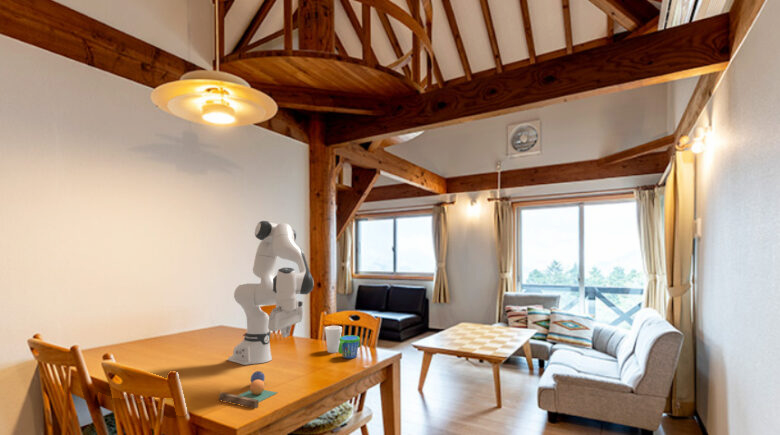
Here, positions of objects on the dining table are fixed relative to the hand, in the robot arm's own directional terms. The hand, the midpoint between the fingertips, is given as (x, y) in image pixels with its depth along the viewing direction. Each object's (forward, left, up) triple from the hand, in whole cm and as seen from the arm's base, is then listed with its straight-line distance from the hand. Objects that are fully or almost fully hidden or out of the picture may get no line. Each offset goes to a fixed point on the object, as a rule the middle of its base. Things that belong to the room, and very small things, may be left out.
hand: (285, 336), depth 172 cm
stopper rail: (+1, -28, -19) cm, 34 cm away
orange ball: (+1, -18, -16) cm, 24 cm away
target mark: (+1, -20, -19) cm, 27 cm away
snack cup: (+7, +43, -19) cm, 47 cm away
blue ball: (-6, -10, -16) cm, 20 cm away
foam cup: (-7, +49, -19) cm, 53 cm away
